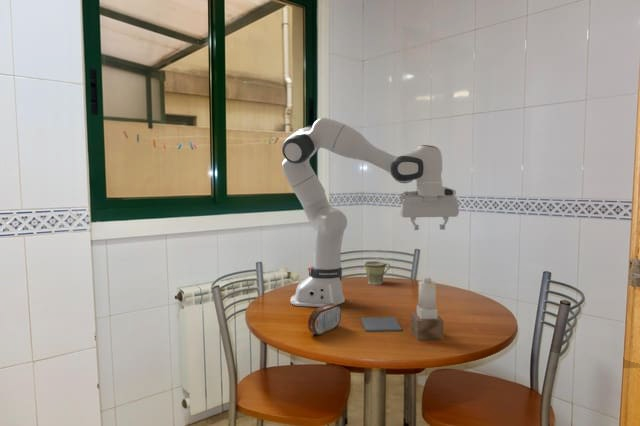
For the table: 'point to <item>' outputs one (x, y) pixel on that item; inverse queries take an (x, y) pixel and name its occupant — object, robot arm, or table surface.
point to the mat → (381, 324)
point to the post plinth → (426, 328)
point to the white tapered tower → (427, 300)
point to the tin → (324, 319)
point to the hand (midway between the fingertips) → (429, 229)
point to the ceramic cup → (375, 271)
